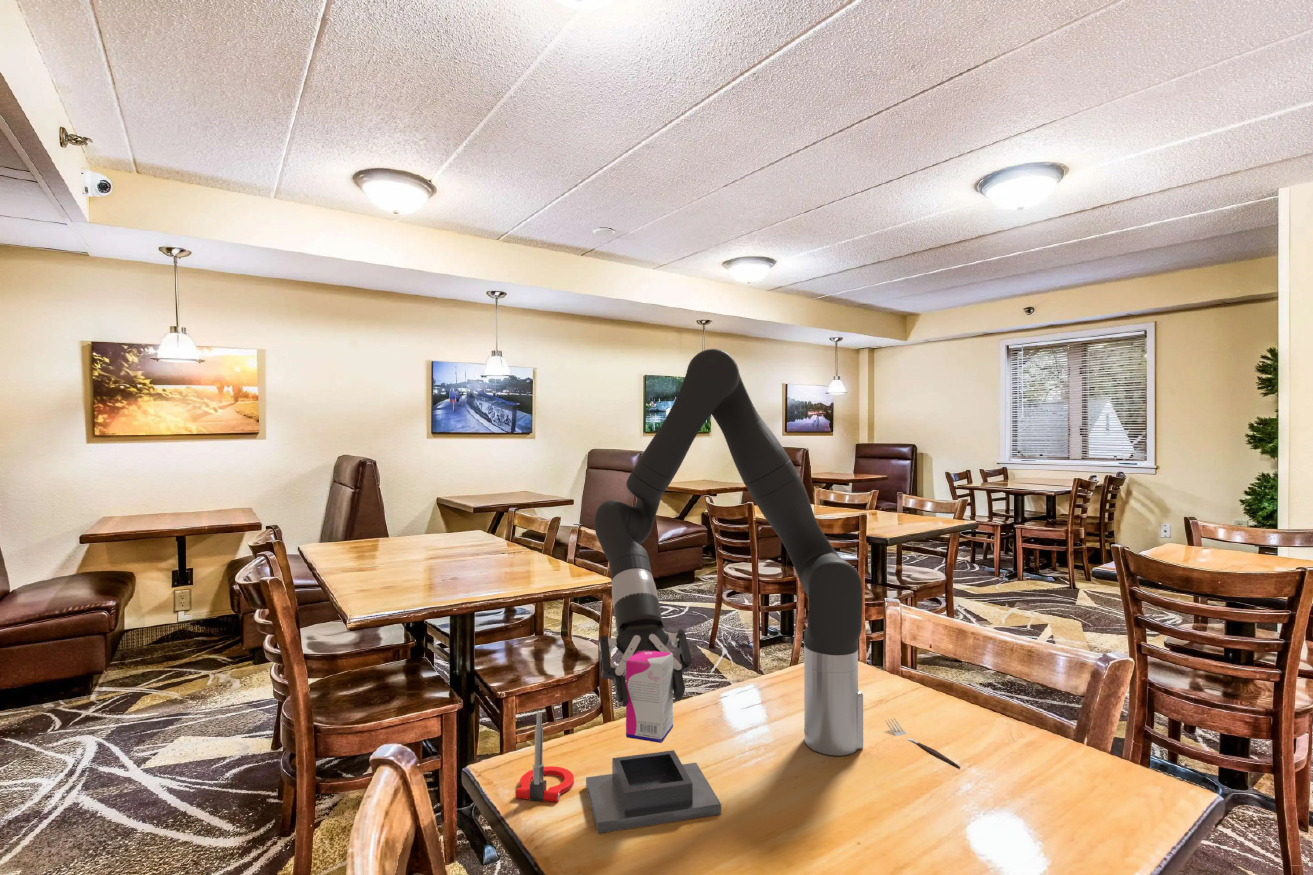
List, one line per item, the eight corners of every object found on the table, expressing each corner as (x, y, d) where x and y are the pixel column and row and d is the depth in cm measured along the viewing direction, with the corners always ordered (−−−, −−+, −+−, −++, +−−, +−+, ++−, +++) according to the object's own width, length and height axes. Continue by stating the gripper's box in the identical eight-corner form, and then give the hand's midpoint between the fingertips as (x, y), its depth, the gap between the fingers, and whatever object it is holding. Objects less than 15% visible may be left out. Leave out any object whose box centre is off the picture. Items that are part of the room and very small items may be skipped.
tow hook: (530, 771, 105) (509, 800, 96) (531, 691, 106) (510, 713, 97) (580, 775, 104) (563, 805, 95) (581, 694, 105) (564, 716, 95)
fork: (954, 772, 104) (954, 760, 104) (884, 730, 119) (884, 720, 119) (966, 769, 105) (966, 756, 105) (895, 728, 120) (895, 717, 120)
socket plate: (696, 771, 104) (696, 744, 104) (721, 814, 92) (721, 783, 92) (586, 786, 100) (585, 758, 100) (597, 833, 88) (597, 800, 88)
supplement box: (674, 726, 98) (674, 651, 98) (661, 744, 92) (662, 665, 92) (638, 720, 100) (639, 647, 100) (624, 737, 94) (624, 660, 94)
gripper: (595, 593, 101) (607, 695, 90) (682, 588, 105) (703, 685, 94) (590, 617, 107) (601, 716, 95) (673, 611, 110) (693, 706, 99)
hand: (652, 701), depth 95 cm, fingers closed on supplement box, 8 cm apart
